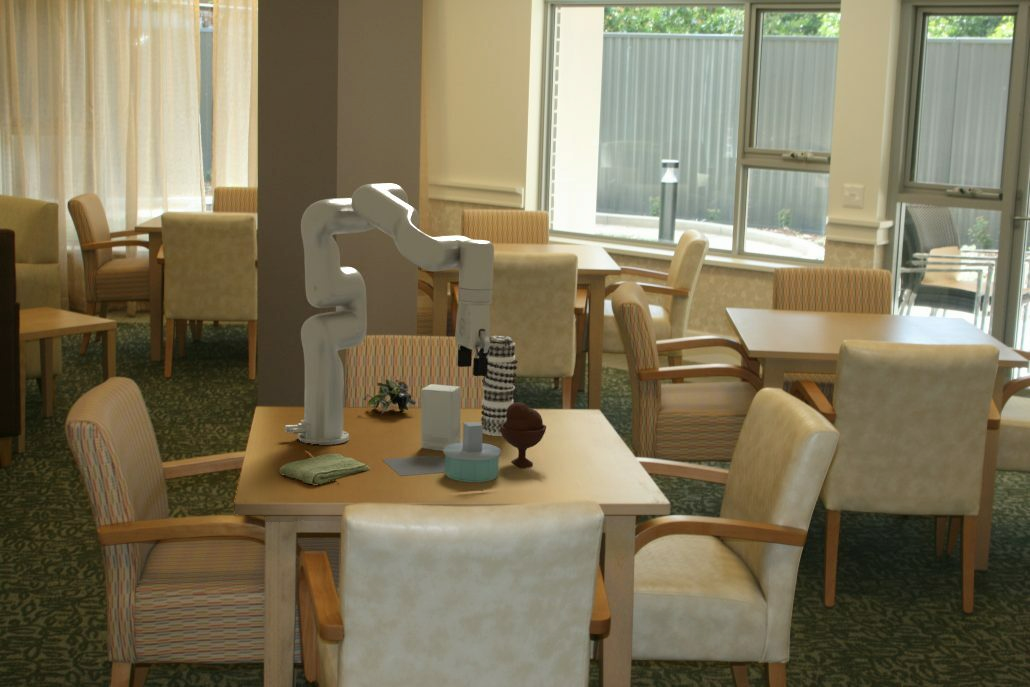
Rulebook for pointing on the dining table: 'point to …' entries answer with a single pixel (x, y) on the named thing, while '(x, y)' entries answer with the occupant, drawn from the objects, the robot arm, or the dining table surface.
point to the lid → (472, 445)
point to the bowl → (471, 469)
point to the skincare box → (440, 416)
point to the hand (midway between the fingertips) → (472, 370)
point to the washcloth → (322, 468)
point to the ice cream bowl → (522, 431)
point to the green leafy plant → (391, 395)
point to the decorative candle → (498, 384)
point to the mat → (417, 465)
